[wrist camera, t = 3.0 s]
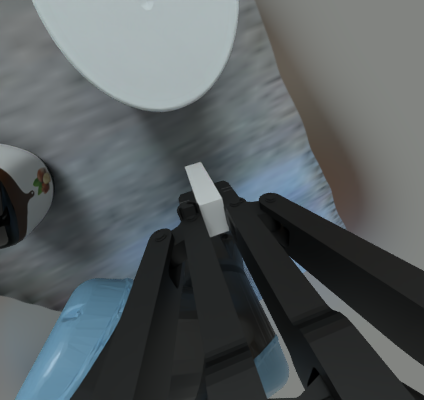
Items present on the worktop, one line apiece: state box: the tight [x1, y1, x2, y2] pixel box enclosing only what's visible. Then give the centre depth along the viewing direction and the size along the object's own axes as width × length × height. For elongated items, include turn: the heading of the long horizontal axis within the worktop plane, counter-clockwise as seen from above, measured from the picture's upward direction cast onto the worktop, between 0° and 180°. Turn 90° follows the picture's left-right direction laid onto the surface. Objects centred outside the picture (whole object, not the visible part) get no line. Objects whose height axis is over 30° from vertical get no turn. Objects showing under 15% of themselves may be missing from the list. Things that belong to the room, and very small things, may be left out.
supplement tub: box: [32, 0, 239, 112], centre depth 14 cm, size 10×10×15 cm
